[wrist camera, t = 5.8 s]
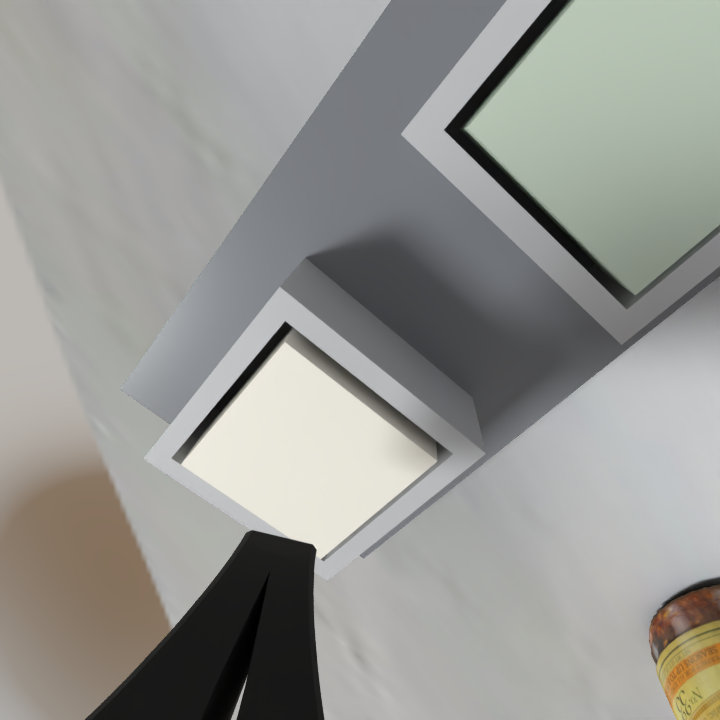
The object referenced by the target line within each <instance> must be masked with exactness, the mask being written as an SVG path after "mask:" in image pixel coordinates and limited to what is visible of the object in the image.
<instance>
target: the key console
mask: <svg viewBox="0 0 720 720" xmlns="http://www.w3.org/2000/svg"><path fill="white" fill-rule="evenodd" d="M567 1H568V0H391V2H390V3H389V4H388V6H387V7H386V9H385V10H384V12H383V13H382V15H381V16H380V17H379V19H378V20H377V22H376V23H375V25H374V26H373V27H372V29H371V30H370V32H369V33H368V35H367V36H366V37H365V39H364V40H363V42H362V43H361V45H360V46H359V48H358V49H357V50H356V52H355V53H354V55H353V56H352V58H351V59H350V60H349V62H348V63H347V65H346V66H345V68H344V69H343V70H342V72H341V73H340V75H339V76H338V78H337V79H336V81H335V82H334V83H333V85H332V86H331V88H330V89H329V91H328V92H327V93H326V95H325V96H324V98H323V99H322V101H321V102H320V103H319V105H318V106H317V108H316V109H315V111H314V112H313V114H312V115H311V116H310V118H309V119H308V121H307V122H306V124H305V125H304V126H303V128H302V129H301V131H300V132H299V134H298V135H297V137H296V138H295V139H294V141H293V142H292V144H291V145H290V147H289V148H288V149H287V151H286V152H285V154H284V155H283V157H282V158H281V159H280V161H279V162H278V164H277V165H276V167H275V168H274V170H273V171H272V172H271V174H270V175H269V177H268V178H267V180H266V181H265V182H264V184H263V185H262V187H261V188H260V190H259V191H258V192H257V194H256V195H255V197H254V198H253V200H252V201H251V203H250V204H249V205H248V207H247V208H246V210H245V211H244V213H243V214H242V215H241V217H240V218H239V220H238V221H237V223H236V224H235V225H234V227H233V228H232V230H231V231H230V233H229V234H228V236H227V237H226V238H225V240H224V241H223V243H222V244H221V246H220V247H219V248H218V250H217V251H216V253H215V254H214V256H213V257H212V258H211V260H210V261H209V263H208V264H207V266H206V267H205V269H204V270H203V271H202V273H201V274H200V276H199V277H198V279H197V280H196V281H195V283H194V284H193V286H192V287H191V289H190V290H189V291H188V293H187V294H186V296H185V297H184V299H183V300H182V302H181V303H180V304H179V306H178V307H177V309H176V310H175V312H174V313H173V314H172V316H171V317H170V319H169V320H168V322H167V323H166V325H165V326H164V327H163V329H162V330H161V332H160V333H159V335H158V336H157V337H156V339H155V340H154V342H153V343H152V345H151V346H150V347H149V349H148V350H147V352H146V353H145V355H144V356H143V358H142V359H141V360H140V362H139V363H138V365H137V366H136V368H135V369H134V370H133V372H132V373H131V375H130V376H129V378H128V379H127V380H126V382H125V383H124V385H123V386H122V388H121V389H120V390H121V391H123V392H124V393H126V394H127V395H128V396H130V397H131V398H133V399H134V400H136V401H137V402H139V403H140V404H141V405H143V406H144V407H146V408H147V409H149V410H150V411H152V412H153V413H154V414H156V415H157V416H159V417H160V418H162V419H163V420H165V421H166V422H167V423H169V424H170V426H169V427H168V428H167V430H166V431H165V432H164V433H163V435H162V436H161V437H160V438H159V440H158V441H157V442H156V443H155V445H154V446H153V447H152V448H151V450H150V451H149V452H148V454H147V455H146V456H145V457H144V459H145V460H146V461H148V462H149V463H151V464H152V465H154V466H155V467H157V468H158V469H160V470H161V471H163V472H164V473H166V474H167V475H169V476H170V477H172V478H173V479H175V480H176V481H178V482H179V483H181V484H182V485H184V486H185V487H187V488H188V489H190V490H191V491H193V492H194V493H196V494H197V495H199V496H200V497H202V498H203V499H205V500H206V501H208V502H209V503H211V504H212V505H214V506H215V507H217V508H218V509H220V510H221V511H223V512H224V513H226V514H227V515H229V516H230V517H232V518H233V519H235V520H236V521H238V522H239V523H241V524H242V525H244V526H245V527H247V528H248V529H250V530H255V531H259V532H263V533H267V534H271V535H276V536H280V537H284V538H288V539H290V538H289V537H287V536H286V535H284V534H283V533H281V532H280V531H278V530H277V529H275V528H274V527H272V526H271V525H269V524H268V523H266V522H265V521H263V520H262V519H260V518H259V517H258V516H256V515H255V514H253V513H252V512H250V511H249V510H247V509H246V508H244V507H243V506H241V505H240V504H238V503H237V502H235V501H234V500H232V499H231V498H229V497H228V496H226V495H225V494H223V493H222V492H221V491H219V490H218V489H216V488H215V487H213V486H212V485H210V484H209V483H207V482H206V481H204V480H203V479H201V478H200V477H198V476H197V475H195V474H194V473H192V472H191V471H189V470H188V469H187V468H185V467H184V466H182V465H181V464H182V462H183V461H184V459H185V458H186V456H187V455H188V454H189V452H190V451H191V449H192V448H193V446H194V445H195V444H196V442H197V441H198V439H199V438H200V436H201V435H202V434H203V432H204V431H205V430H206V429H207V427H208V426H209V425H210V424H211V423H212V422H213V420H214V419H215V418H216V417H217V416H218V414H219V413H220V412H221V411H222V410H223V409H224V407H225V406H226V405H227V404H228V403H229V401H230V400H231V399H232V398H233V397H234V395H235V394H236V393H237V392H238V391H239V390H240V388H241V387H242V386H243V385H244V384H245V382H246V381H247V380H248V379H249V378H250V377H251V375H252V374H253V373H254V372H255V371H256V369H257V368H258V367H259V366H260V365H261V363H262V362H263V361H264V360H265V359H266V358H267V356H268V355H269V354H270V353H271V352H272V350H273V349H274V348H275V347H276V346H277V345H278V343H279V342H280V341H281V340H282V339H283V337H284V336H285V335H286V334H287V333H288V331H289V330H290V329H291V328H292V327H293V328H295V329H296V330H297V331H298V332H300V333H301V334H302V335H304V336H305V337H306V338H307V339H309V340H310V341H311V342H312V343H314V344H315V345H316V346H317V347H319V348H320V349H321V350H322V351H324V352H325V353H326V354H328V355H329V356H330V357H331V358H333V359H334V360H335V361H336V362H338V363H339V364H340V365H341V366H343V367H344V368H345V369H346V370H348V371H349V372H350V373H352V374H353V375H354V376H355V377H357V378H358V379H359V380H360V381H362V382H363V383H364V384H365V385H367V386H368V387H369V388H370V389H372V390H373V391H374V392H375V393H377V394H378V395H379V396H381V397H382V398H383V399H384V400H386V401H387V402H388V403H389V404H391V405H392V406H393V407H394V408H396V409H397V410H398V411H399V412H401V413H402V414H403V415H405V416H406V417H407V418H408V419H410V420H411V421H412V422H413V423H415V424H416V425H417V426H418V427H420V428H421V429H422V430H423V431H425V432H426V433H427V434H428V435H430V436H431V437H432V438H434V439H435V440H436V448H437V459H438V461H437V462H436V463H435V464H434V465H433V466H431V467H430V468H429V469H428V470H427V471H425V472H424V473H423V474H422V475H421V476H420V477H418V478H417V479H416V480H415V481H414V482H412V483H411V484H410V485H409V486H408V487H406V488H405V489H404V490H403V491H402V492H400V493H399V494H398V495H397V496H396V497H394V498H393V499H392V500H391V501H390V502H388V503H387V504H386V505H385V506H384V507H383V508H381V509H380V510H379V511H378V512H377V513H375V514H374V515H373V516H372V517H371V518H369V519H368V520H367V521H366V522H365V523H363V524H362V525H361V526H360V527H359V528H357V529H356V530H355V531H354V532H353V533H351V534H350V535H349V536H348V537H347V538H346V539H344V540H343V541H342V542H341V543H340V544H338V545H337V546H336V547H335V548H334V549H332V550H331V551H330V552H329V553H328V554H326V555H325V556H324V557H323V558H322V559H320V558H318V557H317V556H316V558H315V567H314V573H316V574H317V575H319V576H320V577H322V578H323V579H325V580H326V581H328V580H329V579H331V578H332V577H333V576H334V575H336V574H337V573H338V572H339V571H340V570H342V569H343V568H344V567H345V566H347V565H348V564H349V563H350V562H352V561H353V560H354V559H355V558H357V557H358V556H361V557H362V558H365V557H366V556H367V555H369V554H370V553H371V552H372V551H374V550H375V549H376V548H377V547H379V546H380V545H381V544H382V543H384V542H385V541H386V540H388V539H389V538H390V537H391V536H393V535H394V534H395V533H396V532H398V531H399V530H400V529H401V528H403V527H404V526H405V525H406V524H408V523H409V522H410V521H411V520H413V519H414V518H415V517H416V516H418V515H419V514H420V513H421V512H423V511H424V510H425V509H427V508H428V507H429V506H430V505H432V504H433V503H434V502H435V501H437V500H438V499H439V498H440V497H442V496H443V495H444V494H445V493H447V492H448V491H449V490H450V489H452V488H453V487H454V486H455V485H457V484H458V483H459V482H461V481H462V480H463V479H464V478H466V477H467V476H468V475H469V474H471V473H472V472H473V471H474V470H476V469H477V468H478V467H479V466H481V465H482V464H483V463H484V462H486V461H487V460H488V459H489V458H491V457H492V456H493V455H495V454H496V453H497V452H498V451H500V450H501V449H502V448H503V447H505V446H506V445H507V444H508V443H510V442H511V441H512V440H513V439H515V438H516V437H517V436H518V435H520V434H521V433H522V432H523V431H525V430H526V429H527V428H528V427H530V426H531V425H532V424H534V423H535V422H536V421H537V420H539V419H540V418H541V417H542V416H544V415H545V414H546V413H547V412H549V411H550V410H551V409H552V408H554V407H555V406H556V405H557V404H559V403H560V402H561V401H562V400H564V399H565V398H566V397H568V396H569V395H570V394H571V393H573V392H574V391H575V390H576V389H578V388H579V387H580V386H581V385H583V384H584V383H585V382H586V381H588V380H589V379H590V378H591V377H593V376H594V375H595V374H596V373H598V372H599V371H600V370H602V369H603V368H604V367H605V366H607V365H608V364H609V363H610V362H612V361H613V360H614V359H615V358H617V357H618V356H619V355H620V354H622V353H623V352H624V351H625V350H627V349H628V348H629V347H630V346H632V345H633V344H634V343H635V342H637V341H638V340H639V339H641V338H642V337H643V336H644V335H646V334H647V333H648V332H649V331H651V330H652V329H653V328H654V327H656V326H657V325H658V324H659V323H661V322H662V321H663V320H664V319H666V318H667V317H668V316H669V315H671V314H672V313H673V312H675V311H676V310H677V309H678V308H680V307H681V306H682V305H683V304H685V303H686V302H687V301H688V300H690V299H691V298H692V297H693V296H695V295H696V294H697V293H698V292H700V291H701V290H702V289H703V288H705V287H706V286H707V285H708V284H710V283H711V282H712V281H714V280H715V279H716V278H717V277H719V276H720V225H719V226H718V227H717V228H715V229H714V230H713V231H712V232H711V233H709V234H708V235H707V236H706V237H705V238H703V239H702V240H701V241H700V242H699V243H697V244H696V245H695V246H694V247H693V248H692V249H690V250H689V251H688V252H687V253H686V254H684V255H683V256H682V257H681V258H680V259H678V260H677V261H676V262H675V263H674V264H672V265H671V266H670V267H669V268H668V269H666V270H665V271H664V272H663V273H662V274H660V275H659V276H658V277H657V278H656V279H655V280H653V281H652V282H651V283H650V284H649V285H647V286H646V287H645V288H644V289H643V290H641V291H640V292H639V293H638V294H637V295H634V294H633V293H631V292H630V291H629V290H627V289H626V288H624V287H623V286H621V285H620V284H619V283H617V282H616V281H614V280H613V279H612V278H610V277H609V276H607V275H606V274H605V273H604V272H603V271H602V270H601V269H600V268H599V267H598V266H597V265H596V264H595V263H594V262H593V261H592V260H591V259H590V258H589V257H588V256H587V255H586V254H585V253H584V252H583V251H582V250H581V249H580V248H579V247H578V246H577V245H576V244H575V243H574V242H573V241H572V240H571V239H570V238H569V237H568V236H567V235H566V234H565V233H564V232H563V231H562V230H561V229H560V228H559V227H558V226H557V225H556V224H555V223H554V222H553V221H552V220H551V219H550V218H549V217H548V216H547V215H546V214H545V213H544V212H543V211H542V210H541V209H540V208H539V207H538V206H537V205H536V204H535V203H534V202H533V201H532V200H531V199H530V198H529V197H528V196H527V195H526V194H525V193H524V192H523V191H522V190H521V189H519V188H518V187H517V186H516V185H515V184H514V183H513V182H512V181H511V180H510V179H509V178H508V177H507V176H506V175H505V174H504V173H503V172H502V171H501V170H500V169H499V168H498V167H497V166H496V165H495V164H494V163H493V162H492V161H491V160H490V159H489V158H488V157H487V156H486V155H485V154H484V153H483V152H482V151H481V150H480V149H479V148H478V147H477V146H476V145H475V144H474V143H473V142H472V141H471V140H470V139H469V138H468V137H467V136H466V135H465V134H464V133H463V132H462V131H461V130H460V128H461V126H462V125H463V124H464V123H465V122H466V121H467V119H468V118H469V117H470V116H471V115H472V113H473V112H474V111H475V110H476V109H477V107H478V106H479V105H480V104H481V103H482V102H483V100H484V99H485V98H486V97H487V96H488V94H489V93H490V92H491V91H492V90H493V89H494V87H495V86H496V85H497V84H498V83H499V81H500V80H501V79H502V78H503V77H504V75H505V74H506V73H507V72H508V71H509V70H510V68H511V67H512V66H513V65H514V64H515V62H516V61H517V60H518V59H519V58H520V57H521V55H522V54H523V53H524V52H525V51H526V49H527V48H528V47H529V46H530V45H531V43H532V42H533V41H534V40H535V39H536V38H537V36H538V35H539V34H540V33H541V32H542V30H543V29H544V28H545V27H546V26H547V25H548V23H549V22H550V21H551V20H552V19H553V17H554V16H555V15H556V14H557V13H558V11H559V10H560V9H561V8H562V7H563V6H564V4H565V3H566V2H567Z"/></svg>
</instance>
